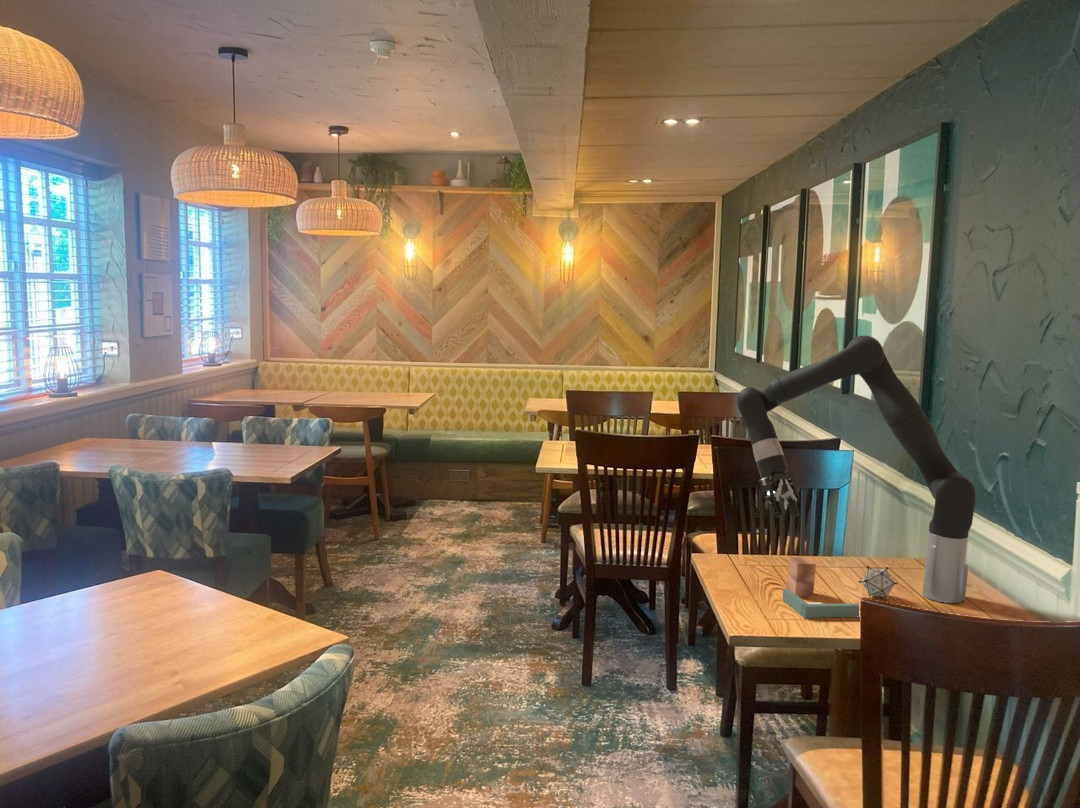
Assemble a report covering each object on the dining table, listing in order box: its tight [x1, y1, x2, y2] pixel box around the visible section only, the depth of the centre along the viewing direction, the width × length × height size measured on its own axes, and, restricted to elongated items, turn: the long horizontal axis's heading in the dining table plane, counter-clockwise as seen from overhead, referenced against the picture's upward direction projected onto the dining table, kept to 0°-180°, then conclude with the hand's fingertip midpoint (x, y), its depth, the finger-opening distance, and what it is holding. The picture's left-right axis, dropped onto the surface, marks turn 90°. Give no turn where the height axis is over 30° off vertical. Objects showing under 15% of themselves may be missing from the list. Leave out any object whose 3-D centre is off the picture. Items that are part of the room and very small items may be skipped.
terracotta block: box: [785, 557, 817, 598], centre depth 207 cm, size 5×5×9 cm
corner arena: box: [782, 588, 860, 619], centre depth 197 cm, size 16×12×3 cm
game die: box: [857, 565, 899, 598], centre depth 207 cm, size 9×8×10 cm
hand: (787, 516), depth 209 cm, fingers open, 8 cm apart
